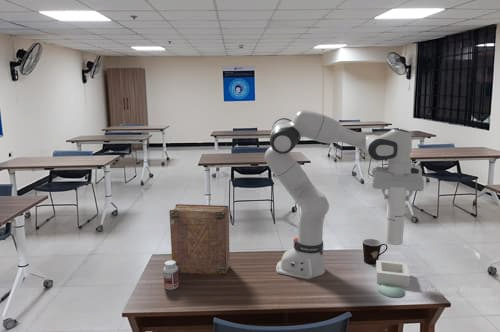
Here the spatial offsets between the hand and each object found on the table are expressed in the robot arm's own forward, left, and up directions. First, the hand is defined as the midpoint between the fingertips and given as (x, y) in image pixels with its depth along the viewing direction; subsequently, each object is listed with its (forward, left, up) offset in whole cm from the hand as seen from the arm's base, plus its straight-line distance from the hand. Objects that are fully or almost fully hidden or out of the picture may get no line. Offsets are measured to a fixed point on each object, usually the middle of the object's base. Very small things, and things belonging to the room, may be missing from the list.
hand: (396, 199), depth 167 cm
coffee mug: (-7, +15, -36) cm, 40 cm away
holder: (0, 0, -36) cm, 36 cm away
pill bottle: (-91, -31, -36) cm, 103 cm away
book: (-85, -12, -36) cm, 93 cm away
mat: (-1, -12, -36) cm, 38 cm away
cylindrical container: (0, 0, -19) cm, 19 cm away
